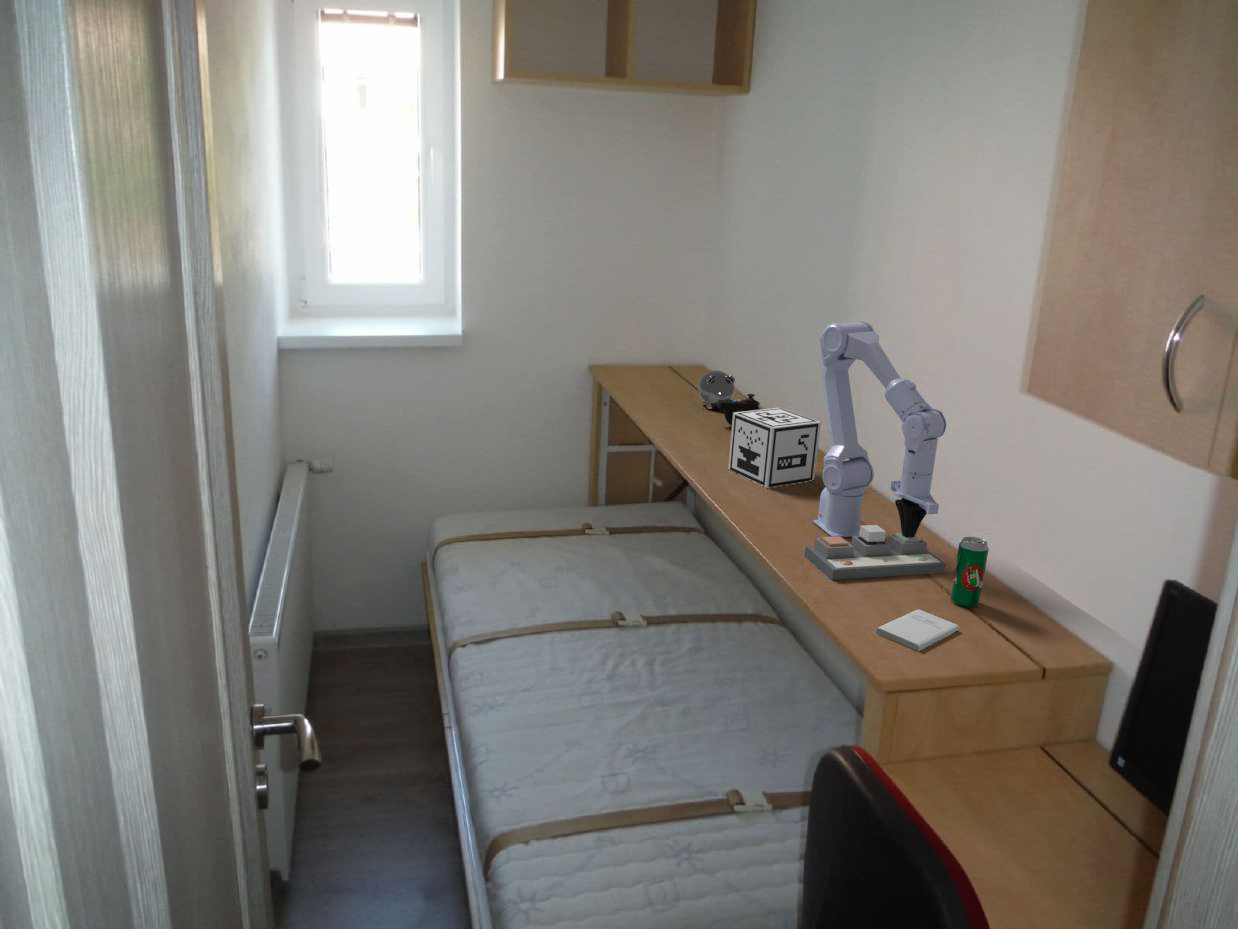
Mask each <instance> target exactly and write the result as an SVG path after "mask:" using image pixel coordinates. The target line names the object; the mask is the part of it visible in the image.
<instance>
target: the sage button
mask: <svg viewBox="0 0 1238 929" xmlns="http://www.w3.org/2000/svg"><path fill="white" fill-rule="evenodd" d="M894 534H895V537H896V538H897V539H899V540H900V541H901V542H903V543H915V542H921V539H922V538H921V537H919V536H918V535H916V534H915V537H904V536H903V535H902V532H895V533H894Z"/></svg>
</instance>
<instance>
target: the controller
mask: <svg viewBox="0 0 1238 929" xmlns="http://www.w3.org/2000/svg"><path fill="white" fill-rule="evenodd" d="M746 395H747V396H748V397H747V398H746V399H741V398H739V399H732V400H719V401H718V403H717V406H716V407H717V408H718V409H719V410H720V411H722V412H724V418H725V420H726V422H727V423H728V425H730V426H731V427H732V420H733V413H735V412H744V411H753V410H761V409H760V406H759V405H760V404H761V403H760V402H759V401H758V400H756V399H755V398H754V397H755V394H754V393H747V394H746Z"/></svg>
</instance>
